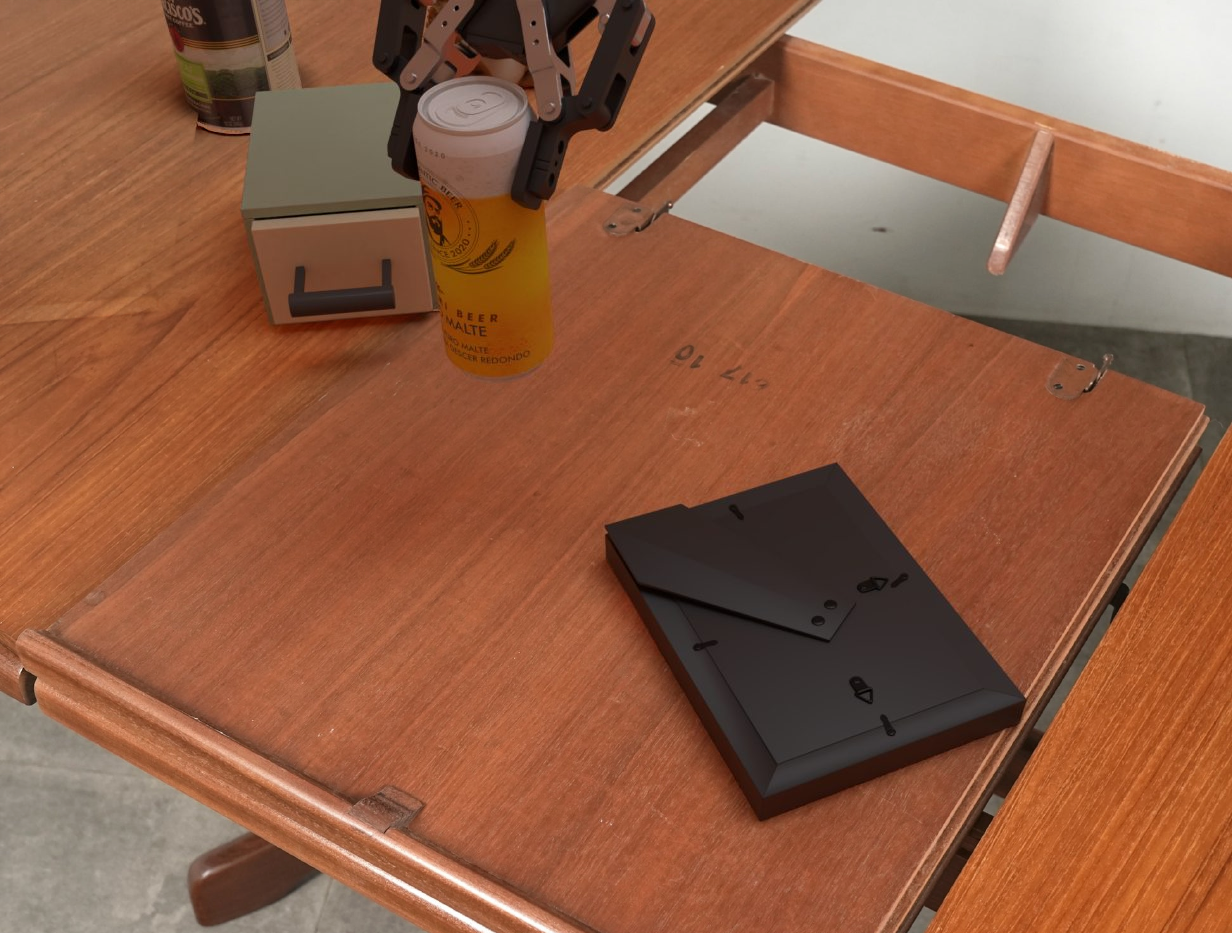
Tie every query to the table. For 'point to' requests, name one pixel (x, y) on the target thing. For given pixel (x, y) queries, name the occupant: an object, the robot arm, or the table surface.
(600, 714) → the table surface
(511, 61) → the stuffed squirrel
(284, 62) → the coffee can
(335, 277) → the drawer
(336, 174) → the cabinet
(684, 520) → the picture frame
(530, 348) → the beer can
